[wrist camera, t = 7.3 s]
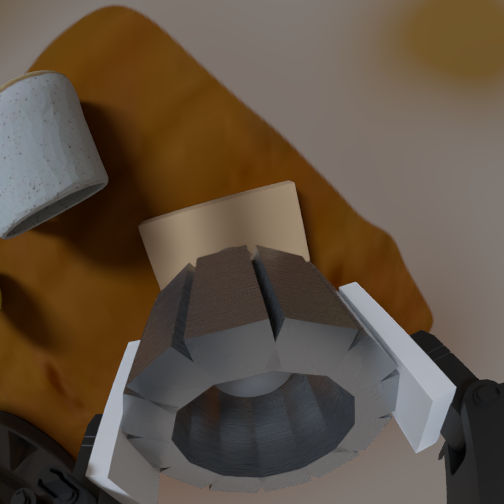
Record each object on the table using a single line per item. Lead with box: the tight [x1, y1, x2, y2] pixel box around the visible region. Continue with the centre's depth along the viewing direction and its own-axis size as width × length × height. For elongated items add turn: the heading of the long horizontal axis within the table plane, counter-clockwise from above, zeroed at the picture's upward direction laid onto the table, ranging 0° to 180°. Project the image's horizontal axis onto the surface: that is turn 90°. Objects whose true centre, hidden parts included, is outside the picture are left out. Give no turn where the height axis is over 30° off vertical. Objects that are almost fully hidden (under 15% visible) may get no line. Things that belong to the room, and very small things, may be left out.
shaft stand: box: [138, 180, 310, 397], centre depth 15 cm, size 10×9×11 cm
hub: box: [123, 244, 400, 493], centre depth 10 cm, size 8×8×5 cm
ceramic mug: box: [0, 70, 108, 239], centre depth 13 cm, size 11×8×8 cm
